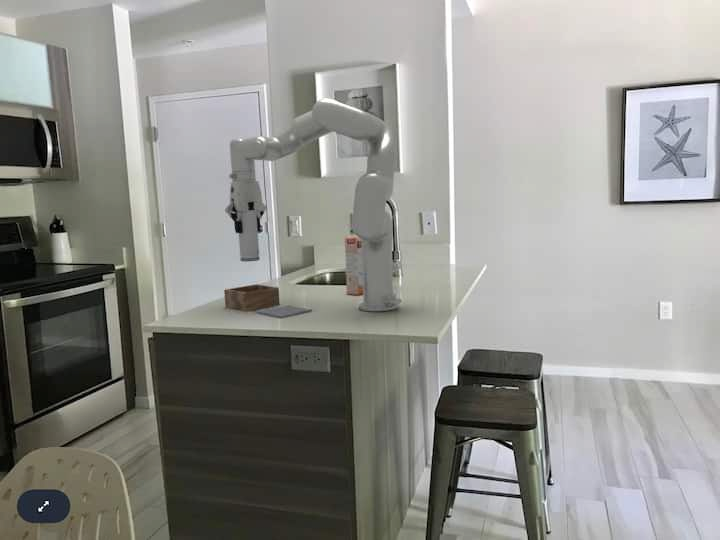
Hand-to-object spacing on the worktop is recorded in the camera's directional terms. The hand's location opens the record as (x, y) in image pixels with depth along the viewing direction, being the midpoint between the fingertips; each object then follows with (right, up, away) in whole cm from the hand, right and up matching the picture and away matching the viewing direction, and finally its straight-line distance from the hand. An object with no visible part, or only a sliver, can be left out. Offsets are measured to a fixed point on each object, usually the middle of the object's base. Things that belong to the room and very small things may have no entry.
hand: (248, 231), depth 192 cm
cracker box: (+38, -21, +22) cm, 49 cm away
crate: (+1, -25, +3) cm, 25 cm away
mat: (+13, -26, -9) cm, 31 cm away
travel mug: (+1, -10, +1) cm, 10 cm away
